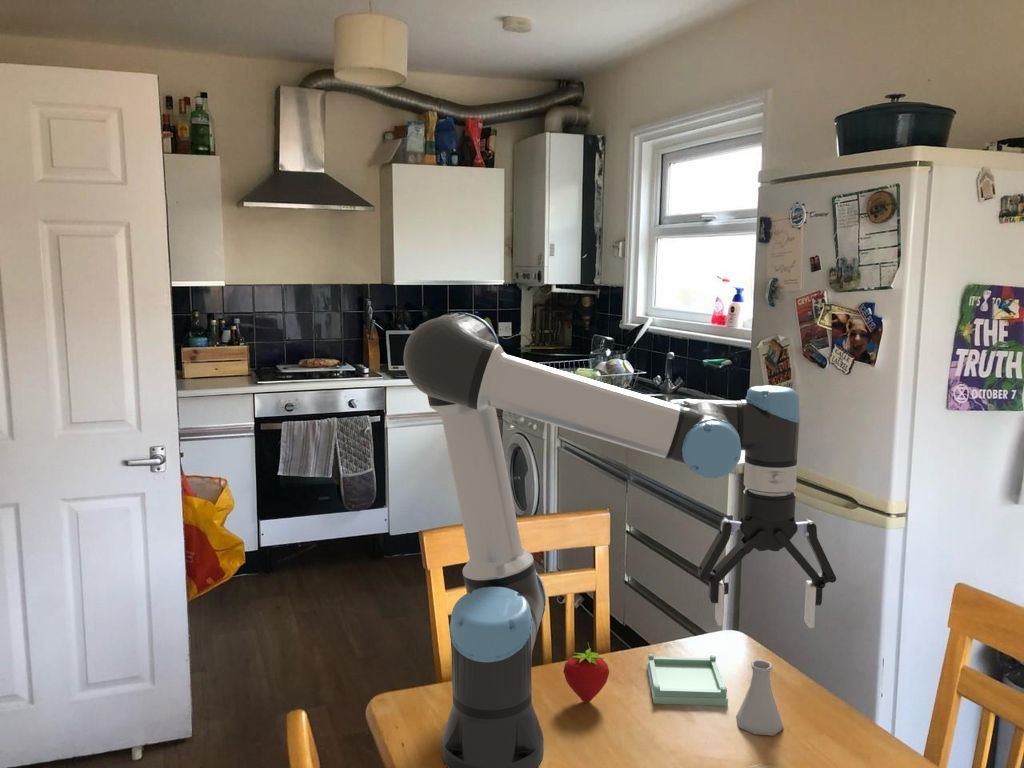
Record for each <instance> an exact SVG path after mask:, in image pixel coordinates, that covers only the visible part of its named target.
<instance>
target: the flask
mask: <svg viewBox="0 0 1024 768" xmlns="http://www.w3.org/2000/svg"><path fill="white" fill-rule="evenodd" d="M750 665H751V669H752V675H751V679H750V680H751V681H750V684H749V687H748V689H747V692H746V693H745V697H744V699H743V701H742V703H741V705H740V707H739V709H738V711H737V714H736V716H735V717H736V723H737V727H738V728H740V729H742V730H745V731H746V732H749V733H751V734H753V735H760V736H772V737H773V736H776V735H777V734H778V733H779V732H781V731H782V730H783V729H784V725H783V722H782V718H781V715H780V711H779V710H778V709H779V708H778V706H777V703H776V700H775V697H774V693H773V690H772V685H771V671H772V669H773V665H772V662H770V661H767V660H764V659H754V660H752V661H751V662H750Z"/></svg>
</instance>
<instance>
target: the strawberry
mask: <svg viewBox="0 0 1024 768" xmlns="http://www.w3.org/2000/svg"><path fill="white" fill-rule="evenodd" d="M587 646H588V649H586V650H585V653H584V652H583V653H582V652H572V654H573V656H571V657H570V658H569V659H568V660H567V661H566V662H565V663H564V667H563V675H564V679H565V681H566V683H567V685H568V686H569V687H570V689H571V690H572V691H573V692H574V693H575V694H576V696H578V697H579V699H580V700H581V701H582V702H584V703H590V702H591V701H593V699H594V698H595V697H596V696H597V695H598V694H599V693H600V692H601V690H602V689H603V688H604V687H605V685H606V683H607V682H608V678H609V675H610V668H609V665H608V663H607V662H606V661H605V660H604V659H605V658H604V657H602V656H599V654H600V653H598V652H592V650H591V649H592V648H590V644H589V642H587Z"/></svg>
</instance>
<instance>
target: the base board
mask: <svg viewBox="0 0 1024 768" xmlns="http://www.w3.org/2000/svg"><path fill="white" fill-rule="evenodd" d="M647 657H648V661H646V668H647V669H646V670H647V675H648V680H649V685H650V691H651V697H652V703H653V704H659V705H660V704H661V705H662V704H663V705H689V706H690V705H692V706H696V705H697V706H719V707H720V706H726V707H727V706H729V698H728V695H727V694H728V693H727V692H728V688H727V687H725V683H724V681H723V677H722V675H721V672H720V669H719V666H718V664H717V656H715V655H713V654H712V655H709V657H706V658H705V657H683V656H682V657H679V656H678V657H677V656H669V657H668V656H655V655H654V654H653V653H648V656H647Z"/></svg>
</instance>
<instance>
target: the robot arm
mask: <svg viewBox="0 0 1024 768" xmlns="http://www.w3.org/2000/svg"><path fill="white" fill-rule="evenodd" d="M403 367H404V369H405V373H406V375H407V377H408V379H409V380H410V382H411V384H413V386H415V388H417V389H418V390H419V391H420V392H422V393H424V394H425V395H426V396H427V400H428V406H429V408H431V409H432V410H434V412H435V411H436V412H437V413H438V414H439V415H440V416H441V421H442V425H443V431H444V435H445V436H444V437H445V440H446V445H447V450H448V456H449V461H450V466H451V471H452V475H453V481H454V482H453V483H454V486H455V491H456V497H457V502H458V507H459V511H460V516H461V517H460V518H461V522H462V526H463V532H464V537H465V538H464V539H465V542H466V547H467V552H468V557H469V558H468V561H467V562H466V564H465V565H464V567H463V568H462V575H463V581H464V587H465V590H466V591H465V592H466V593H465V594H464V595H462V596H461V597H460V598H459V599H458V600H457V601H456V602H455V604H454V606H453V607H452V611H451V617H450V622H449V638H450V645H451V647H450V649H451V650H450V651H451V682H452V683H451V685H452V688H451V689H452V692H451V693H452V705H451V708H450V712H449V714H448V718H447V720H446V724H445V727H444V729H443V730H444V731H443V733H442V736H441V757H443V758H442V761H443V760H444V761H443V763H444V762H445V763H446V765H447V766H448V767H449V768H537V767H538V766H539V765H540V764H541V762H542V761H543V758H544V752H545V751H544V750H545V749H544V748H545V747H544V745H545V743H544V740H545V739H544V734H543V730H542V728H541V725H540V722H539V719H538V716H537V714H536V710H535V708H534V705H533V701H532V700H533V699H532V697H533V696H532V690H533V689H532V682H533V681H532V658H533V657H532V656H533V649H534V647H535V646H534V645H535V642H536V638H537V634H538V631H539V627H540V625H541V622H542V619H543V617H544V615H545V612H546V604H547V603H546V602H547V599H546V598H547V597H546V589H545V586H544V583H543V581H542V578H541V576H540V575H539V574H538V572H537V570H536V564H535V560H534V556H533V554H531V553H530V552H529V551H527V550H525V548H523V547H522V541H521V536H520V531H519V526H518V519H517V514H516V511H515V504H514V500H513V499H514V497H513V493H512V489H511V484H510V477H509V473H508V468H507V462H506V457H505V452H504V447H503V442H502V441H503V440H502V436H501V432H500V425H499V421H498V415H497V409H499V410H503V411H506V412H509V413H512V414H515V415H519V416H522V417H526V418H529V419H532V420H536V421H539V422H541V423H545V424H546V423H547V424H549V425H552V426H556V427H558V428H559V427H560V428H563V429H566V430H570V431H572V432H576V433H580V434H582V435H586V436H590V437H593V438H596V439H600V440H602V441H606V442H610V443H612V444H617V445H620V446H623V447H625V448H630V449H633V450H636V451H638V452H639V451H640V452H642V453H647V454H650V455H653V456H657V457H660V458H663V459H667V460H668V461H672V462H675V463H679V464H682V465H685V466H686V467H687V468H688V469H690V470H691V472H693V473H695V474H696V475H698V476H699V477H702V478H707V479H718V478H722V477H725V476H727V475H729V474H730V473H731V472H732V471H733V470H734V469H735V468H736V467H737V466H738V464H739V463H740V460H741V457H742V451H744V470H743V473H744V474H743V485H744V486H745V489H744V490H743V494H742V495H743V496H742V516H741V518H740V520H738V521H737V520H731V519H729V518H728V517H725V516H724V517H722V518H721V519H720V523H719V530H718V533H717V534H716V536H715V538H714V540H713V541H712V543H711V545H710V546H709V548H708V550H707V551H706V554H705V555H704V557H703V559H702V561H701V562H700V563H699V566H698V568H697V573H698V575H699V576H698V577H699V578H700V580H702V581H707V582H709V583H708V587H709V588H708V597H709V599H710V602H711V604H714V606H715V607H714V611H715V612H714V619H715V622H716V624H717V626H718V627H723V626H724V607H725V606H724V605H725V584H724V582H723V579H724V578H725V577H726V576H727V575H728V574H729V573H730V572H731V571H732V570H733V569H734V568H735V567H736V566H737V564H739V562H741V561H742V559H744V557H745V556H746V555H749V554H750V553H751V552H752V551H753V550H757V551H758V552H764V551H771V552H780V551H781V550H783V549H784V548H785V549H786V551H787V552H788V553H789V554H790V556H791V557H792V558H793V559H794V560H795V561H796V562H797V564H798V565H799V566H800V567H801V569H802V570H803V572H805V573H806V574H807V576H808V577H809V578H810V579H811V580H805V595H804V615H803V616H804V617H803V621H804V622H805V624H806V626H807V627H808V629H815V620H816V619H815V615H816V606H821V605H822V603H823V589H824V588H826V584H828V583H835V582H836V581H837V577H836V575H835V572H834V570H833V568H832V566H831V564H830V562H829V560H828V558H827V554H825V551H824V549H823V547H822V545H821V542H820V540H819V538H818V531H817V530H818V529H817V528H818V527H817V525H816V524H815V523H814V521H813V520H812V519H811V518H805V519H804V520H803V521H796V520H795V516H796V495H797V494H796V493H795V492H794V491H795V490H796V489H797V473H798V471H797V469H798V451H799V448H798V447H799V434H800V423H801V420H800V419H801V418H800V396H799V393H798V392H797V391H796V390H794V389H793V388H791V387H787V386H781V385H755V386H751V387H750V388H748V389H747V393H746V396H745V399H740V400H736V399H735V400H725V399H700V398H699V399H695V398H694V399H693V398H690V397H689V398H683V399H682V398H681V399H679V398H678V399H669V400H668V401H666V400H663V399H660V398H656V397H652V396H648V395H645V394H643V393H639V392H636V391H633V390H629V389H626V388H621V387H619V386H616V385H612V384H608V383H604V382H601V381H598V380H594V379H591V378H588V377H585V376H581V375H577V374H575V373H571V372H568V371H565V370H564V371H563V370H561V369H557V368H554V367H551V366H547V365H544V364H540V363H537V362H534V361H531V360H527V359H524V358H520V357H517V356H514V355H510V354H507V353H506V352H505V351H504V349H503V347H502V346H501V345H500V343H499V339H498V337H497V335H496V333H495V331H494V329H493V328H492V327H491V325H490V324H489V323H488V322H487V321H485V320H484V319H482V318H481V317H479V316H477V315H475V314H472V313H468V312H461V311H460V312H450V313H447V314H443V315H440V316H439V317H435V318H432V319H429V320H426V321H425V322H422V323H421V324H420V325H419V326H417V327H416V328H415V329H414V330H413V331H412V332H411V334H410V335H409V337H408V338H407V341H406V343H405V346H404V350H403ZM738 530H740V532H741V534H742V536H741V537H740V538H739V539H738V541H737V542H736V544H735V545H734V546H733V547H732V549H731V550H729V552H728V553H727V554H726V555H725V556H724V557H722V559H721V560H720V561H719V562H718V560H719V559H720V557H721V556H722V553H723V551H724V550H725V548H726V546H727V544H728V542H729V541H730V538H731V536H733V535H735V533H736V531H738ZM798 531H799V532H800V534H801V535H802V536H803V537H805V538H806V541H807V542H808V545H809V547H810V548H811V549H810V550H811V551H812V553H813V555H814V557H815V559H816V562H817V565H819V567H820V570H821V572H817V571H816V570H815V568H814V567H813V566H812V565H811V564H810V562H809V561H808V560H807V559H806V558H805V556H804V555H803V554H802V553H801V552H800V551H799V549H798V548H797V547H796V545H794V543H793V541H791V540H792V539H793V537H794V536H795V534H796V533H797V532H798ZM717 562H718V563H717ZM445 763H444V764H445ZM446 765H445V766H446ZM447 766H446V767H447ZM448 767H447V768H448Z"/></svg>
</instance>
